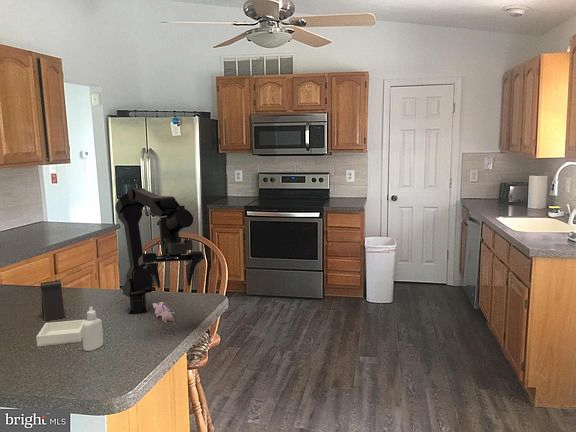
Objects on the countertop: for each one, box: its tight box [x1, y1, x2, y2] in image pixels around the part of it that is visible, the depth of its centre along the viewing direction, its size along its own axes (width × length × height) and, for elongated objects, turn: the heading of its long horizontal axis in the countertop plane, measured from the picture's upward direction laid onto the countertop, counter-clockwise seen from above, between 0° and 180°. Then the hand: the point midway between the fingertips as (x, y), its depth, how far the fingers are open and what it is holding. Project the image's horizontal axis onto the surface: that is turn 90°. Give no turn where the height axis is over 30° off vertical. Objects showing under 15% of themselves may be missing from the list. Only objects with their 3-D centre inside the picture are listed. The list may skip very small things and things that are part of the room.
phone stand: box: [40, 280, 66, 322], centre depth 164 cm, size 9×6×12 cm, turn 34°
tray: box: [36, 319, 87, 347], centre depth 146 cm, size 12×12×3 cm
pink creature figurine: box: [152, 301, 175, 324], centre depth 163 cm, size 6×6×15 cm
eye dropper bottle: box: [82, 306, 104, 352], centre depth 137 cm, size 4×6×12 cm
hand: (174, 287), depth 144 cm, fingers open, 9 cm apart
